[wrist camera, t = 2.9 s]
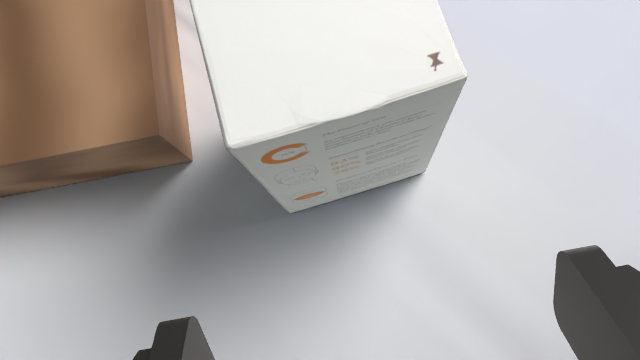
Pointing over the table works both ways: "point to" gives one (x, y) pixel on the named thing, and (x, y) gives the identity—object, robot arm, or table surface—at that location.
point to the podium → (88, 91)
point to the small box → (329, 90)
